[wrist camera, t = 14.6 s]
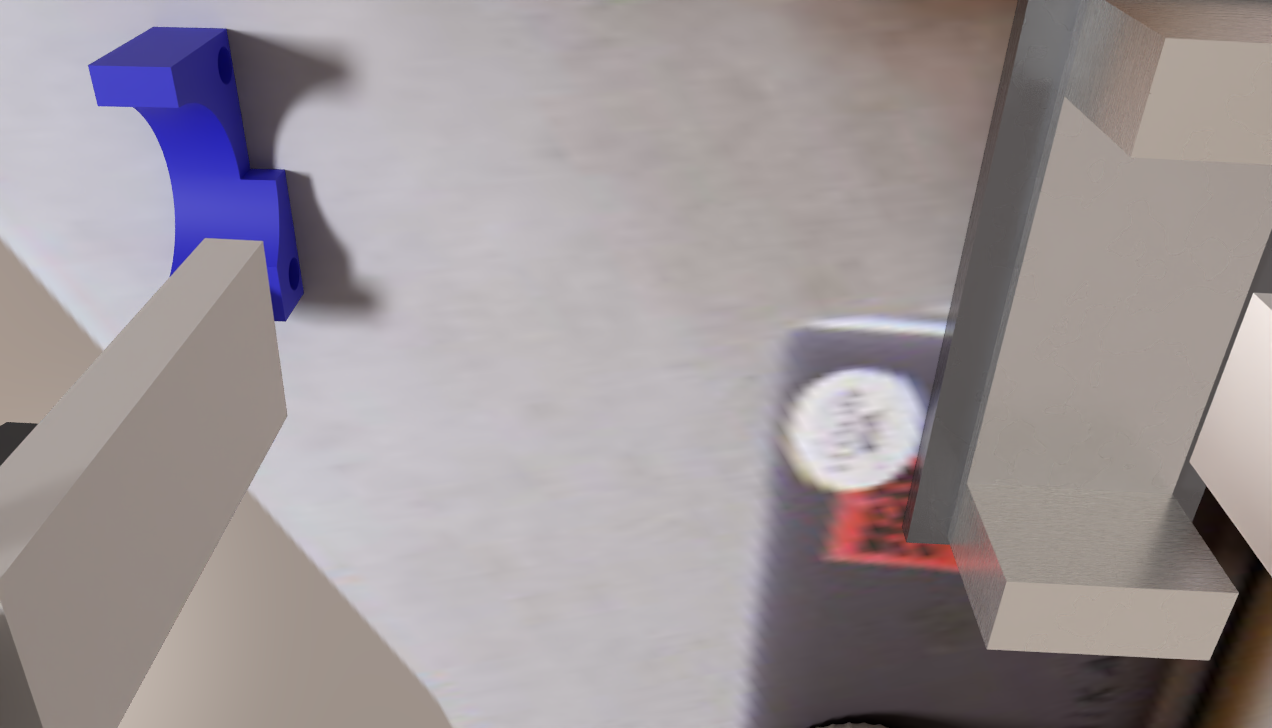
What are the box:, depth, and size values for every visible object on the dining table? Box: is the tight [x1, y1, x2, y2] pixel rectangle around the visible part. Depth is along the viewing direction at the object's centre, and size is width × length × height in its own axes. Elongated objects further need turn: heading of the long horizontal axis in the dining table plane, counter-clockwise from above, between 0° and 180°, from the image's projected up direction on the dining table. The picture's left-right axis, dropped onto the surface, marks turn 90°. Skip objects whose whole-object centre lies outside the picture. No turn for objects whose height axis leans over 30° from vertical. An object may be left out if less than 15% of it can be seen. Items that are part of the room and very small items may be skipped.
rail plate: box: [902, 0, 1272, 660], centre depth 45 cm, size 28×14×9 cm, turn 177°
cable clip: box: [88, 27, 304, 321], centre depth 45 cm, size 12×4×6 cm, turn 179°
